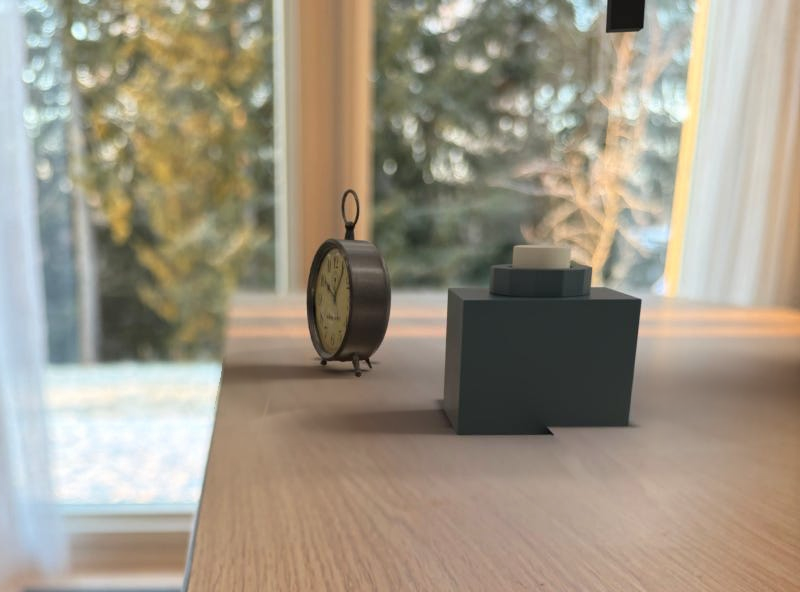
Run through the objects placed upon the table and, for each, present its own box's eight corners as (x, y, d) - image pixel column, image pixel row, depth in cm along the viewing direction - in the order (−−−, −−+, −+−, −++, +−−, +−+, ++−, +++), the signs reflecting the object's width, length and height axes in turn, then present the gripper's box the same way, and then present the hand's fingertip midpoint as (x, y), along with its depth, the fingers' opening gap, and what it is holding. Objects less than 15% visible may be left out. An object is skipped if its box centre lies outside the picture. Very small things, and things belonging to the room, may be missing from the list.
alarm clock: (303, 365, 106) (301, 189, 100) (353, 362, 108) (354, 189, 101) (346, 381, 97) (347, 188, 90) (399, 377, 98) (404, 188, 92)
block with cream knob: (594, 408, 84) (608, 261, 79) (627, 435, 74) (645, 270, 70) (443, 409, 84) (448, 262, 79) (457, 436, 74) (464, 271, 70)
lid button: (562, 270, 77) (564, 244, 76) (574, 274, 73) (577, 247, 72) (507, 270, 77) (509, 244, 76) (517, 274, 73) (518, 247, 72)
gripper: (573, -286, 84) (561, 47, 93) (615, -378, 72) (597, 15, 80) (667, -291, 84) (647, 43, 92) (726, -383, 72) (696, 11, 80)
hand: (624, 30), depth 86 cm, fingers closed
